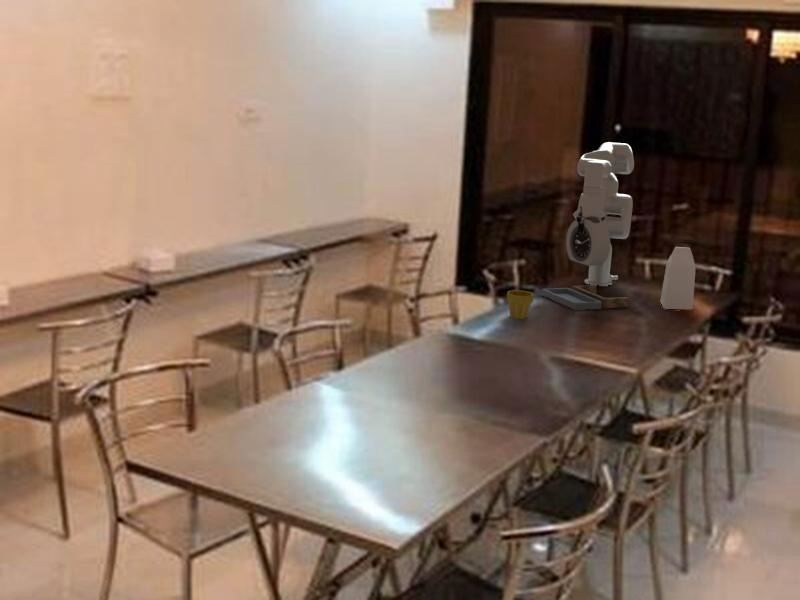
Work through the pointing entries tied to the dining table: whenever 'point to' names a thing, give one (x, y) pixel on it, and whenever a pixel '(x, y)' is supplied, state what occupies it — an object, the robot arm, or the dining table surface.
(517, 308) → the plant pot
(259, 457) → the dining table surface
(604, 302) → the walnut stall
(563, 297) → the slate tray
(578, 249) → the alarm clock
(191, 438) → the dining table surface
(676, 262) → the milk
